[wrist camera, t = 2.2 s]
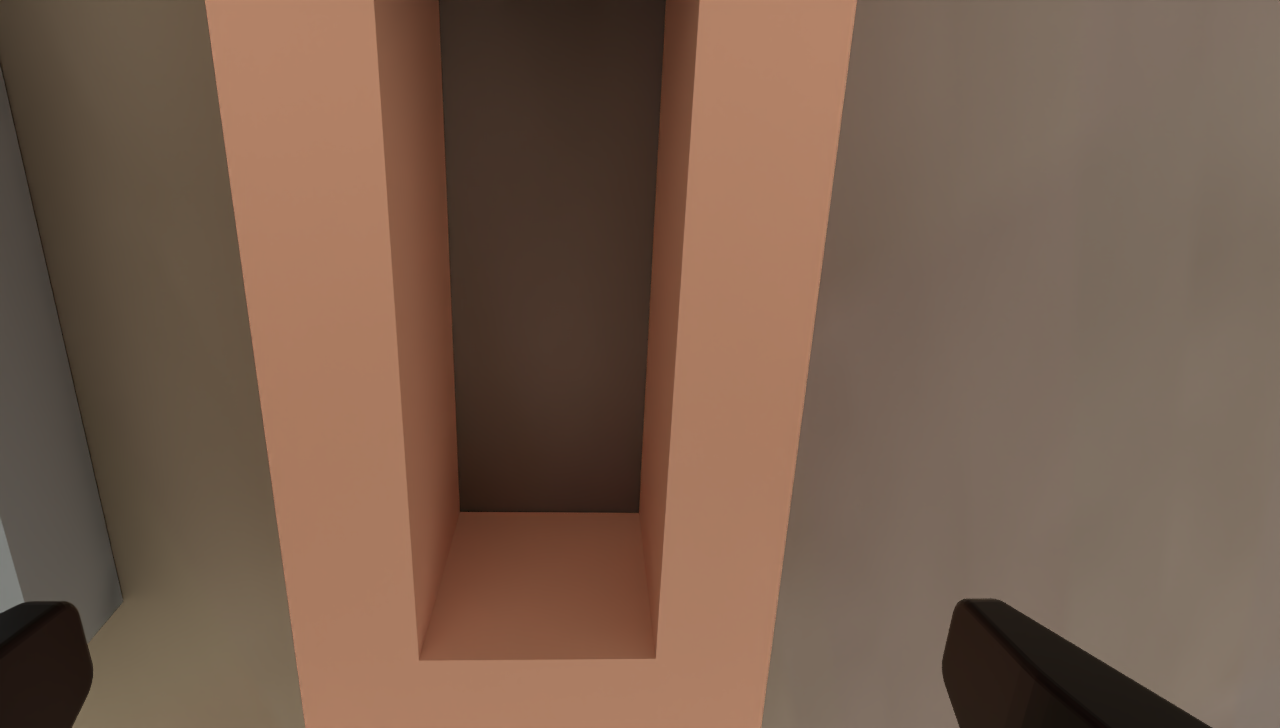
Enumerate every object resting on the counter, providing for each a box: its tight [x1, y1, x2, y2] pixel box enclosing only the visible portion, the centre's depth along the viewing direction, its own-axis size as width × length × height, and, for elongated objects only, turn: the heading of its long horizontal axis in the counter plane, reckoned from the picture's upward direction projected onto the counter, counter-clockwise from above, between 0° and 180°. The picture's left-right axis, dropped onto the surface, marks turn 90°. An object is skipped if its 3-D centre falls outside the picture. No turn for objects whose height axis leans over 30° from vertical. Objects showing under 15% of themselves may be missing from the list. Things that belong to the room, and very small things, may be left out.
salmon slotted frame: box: [205, 0, 857, 728], centre depth 9 cm, size 6×18×4 cm, turn 177°
